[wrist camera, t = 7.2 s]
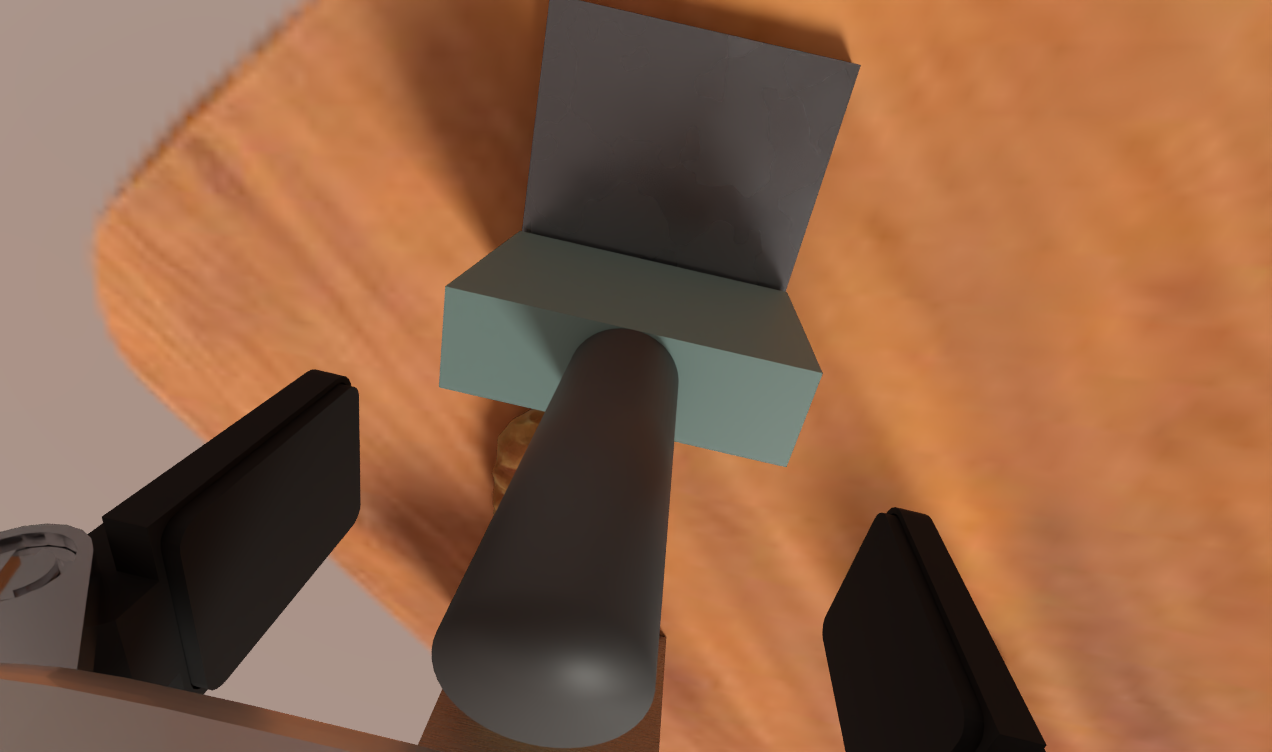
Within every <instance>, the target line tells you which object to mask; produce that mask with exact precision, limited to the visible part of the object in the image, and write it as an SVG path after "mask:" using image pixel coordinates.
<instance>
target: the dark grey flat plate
mask: <svg viewBox="0 0 1272 752" xmlns="http://www.w3.org/2000/svg"><path fill="white" fill-rule="evenodd" d="M860 66H861V65H858V64H854V63H850V62H845V61H841V60H837V59H832V58H828V57H824V56H819V55H815V54H810V53H806V52H802V51H797V50H793V49H789V48H784V47H780V46H776V45H771V44H767V43H763V42H758V41H754V40H750V39H745V38H741V37H737V36H732V35H728V34H724V33H719V32H715V31H710V30H706V29H702V28H697V27H693V26H689V25H684V24H680V23H676V22H671V21H667V20H663V19H658V18H654V17H650V16H645V15H641V14H637V13H632V12H628V11H624V10H619V9H615V8H611V7H606V6H602V5H597V4H593V3H589V2H584V1H580V0H549V9H548V17H547V25H546V34H545V42H544V51H543V59H542V67H541V76H540V84H539V93H538V101H537V109H536V118H535V126H534V135H533V143H532V151H531V160H530V168H529V177H528V185H527V193H526V202H525V210H524V219H523V227H522V231H523V232H527V233H532V234H536V235H540V236H545V237H549V238H553V239H558V240H562V241H566V242H571V243H575V244H579V245H584V246H588V247H592V248H597V249H601V250H606V251H610V252H614V253H619V254H623V255H627V256H632V257H636V258H640V259H645V260H649V261H653V262H658V263H662V264H666V265H671V266H675V267H679V268H684V269H688V270H692V271H697V272H701V273H705V274H710V275H714V276H718V277H723V278H727V279H732V280H736V281H740V282H745V283H749V284H753V285H758V286H762V287H766V288H771V289H775V290H779V291H784V292H785V291H786V288H787V285H788V282H789V279H790V276H791V273H792V270H793V267H794V264H795V261H796V258H797V255H798V252H799V249H800V246H801V243H802V240H803V237H804V234H805V231H806V228H807V225H808V222H809V219H810V216H811V213H812V210H813V207H814V204H815V201H816V198H817V195H818V192H819V189H820V186H821V183H822V180H823V177H824V174H825V171H826V168H827V165H828V162H829V159H830V156H831V153H832V150H833V147H834V144H835V141H836V138H837V135H838V132H839V129H840V126H841V123H842V120H843V117H844V114H845V111H846V108H847V105H848V102H849V99H850V96H851V93H852V90H853V87H854V84H855V81H856V78H857V75H858V72H859V69H860Z"/></svg>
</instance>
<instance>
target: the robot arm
mask: <svg viewBox="0 0 1272 752" xmlns="http://www.w3.org/2000/svg"><path fill="white" fill-rule="evenodd" d="M359 510H360V440H359V393H358V390H357V388H355V387H352V386H351V383H350V381H349V379H348V378H347V377H345V376H341V375H337V374H333V373H329V372H324V371H320V370H310V371H308V372H306V373H305V374H304V375H302V376H301V377H299V378H298V379H296V380H295V381H294V382H292V383H291V384H289V385H288V386H287V387H285V388H284V389H282V390H281V391H279V392H278V393H277V394H275V395H274V396H272V397H271V398H269V399H268V400H267V401H265V402H264V403H262V404H261V405H260V406H258V407H257V408H255V409H254V410H252V411H251V412H250V413H248V414H247V415H245V416H244V417H243V418H241V419H240V420H238V421H237V422H235V423H234V424H233V425H231V426H230V427H228V428H227V429H226V430H224V431H223V432H221V433H220V434H218V435H217V436H216V437H214V438H213V439H211V440H210V441H209V442H207V443H206V444H204V445H203V446H202V447H200V448H199V449H197V450H196V451H195V452H193V453H192V454H190V455H189V456H187V457H186V458H185V459H183V460H182V461H180V462H179V463H177V464H176V465H175V466H173V467H172V468H171V469H169V470H167V471H166V472H165V473H163V474H162V475H160V476H159V477H157V478H156V479H155V480H153V481H152V482H151V483H149V484H148V485H146V486H145V487H143V488H142V489H140V490H139V491H138V492H136V493H135V494H133V495H132V496H131V497H129V498H128V499H126V500H125V501H123V502H122V503H121V504H119V505H118V506H116V507H115V508H114V509H112V510H111V511H109V512H108V513H106V514H105V515H104V516H102V520H103V524H101V525H100V526H99V527H97V528H96V529H94V530H93V531H92V532H90V533H89V534H86V533H85V532H84V531H83V530H81V529H78V528H75V527H72V526H69V525H60V524H39V525H29V526H22V527H18V528H14V529H10V530H6V531H2V532H0V752H444V751H440V750H436V749H431V748H427V747H423V746H419V745H415V744H410V743H406V742H402V741H398V740H394V739H390V738H386V737H381V736H377V735H373V734H368V733H365V732H360V731H356V730H352V729H348V728H344V727H340V726H335V725H331V724H327V723H323V722H319V721H314V720H310V719H306V718H302V717H298V716H293V715H289V714H285V713H280V712H277V711H272V710H268V709H264V708H260V707H256V706H252V705H247V704H243V703H239V702H234V701H229V700H225V699H221V698H216V697H211V696H207V695H203V694H204V693H205V692H206V691H207V690H208V689H209V690H215V689H217V688H218V687H220V686H221V685H222V684H223V683H224V682H225V681H226V680H227V679H228V678H229V676H230V675H231V674H232V673H233V672H234V670H235V669H236V668H237V667H238V665H239V664H240V663H241V662H242V660H243V659H244V658H245V657H246V656H247V654H248V653H249V652H250V651H251V649H252V648H253V647H254V646H255V644H256V643H257V642H258V641H259V640H260V638H261V637H262V636H263V635H264V634H265V632H266V631H267V630H268V629H269V627H270V626H271V625H272V624H273V623H274V621H275V620H276V619H277V618H278V616H279V615H280V614H281V613H282V612H283V610H284V609H285V608H286V607H287V605H288V604H289V603H290V602H291V601H292V599H293V598H294V597H295V596H296V594H297V593H298V592H299V591H300V590H301V588H302V587H303V586H304V585H305V583H306V582H307V581H308V580H309V579H310V577H311V576H312V575H313V574H314V572H315V571H316V570H317V568H318V567H319V566H320V565H321V564H322V563H323V561H324V560H325V559H326V558H327V557H328V555H329V554H330V553H331V552H332V550H333V549H334V548H335V547H336V545H337V544H338V543H339V542H340V541H341V539H342V538H343V537H344V536H345V534H346V533H347V532H348V531H349V530H350V528H351V527H352V526H353V524H354V523H355V521H356V519H357V517H358V514H359ZM823 642H824V647H825V652H826V657H827V662H828V667H829V672H830V677H831V682H832V687H833V691H834V696H835V701H836V706H837V711H838V716H839V721H840V726H841V731H842V736H843V741H844V746H845V751H846V752H1046V751H1045V749H1044V748H1045V747H1046V743H1045V741H1044V739H1043V737H1042V735H1041V733H1040V731H1039V729H1038V727H1037V725H1036V724H1035V722H1034V720H1033V718H1032V716H1031V714H1030V712H1029V710H1028V708H1027V706H1026V704H1025V702H1024V700H1023V698H1022V696H1021V694H1020V692H1019V690H1018V688H1017V686H1016V684H1015V682H1014V680H1013V678H1012V676H1011V674H1010V672H1009V670H1008V669H1007V667H1006V665H1005V663H1004V661H1003V659H1002V657H1001V655H1000V653H999V651H998V649H997V647H996V645H995V643H994V641H993V639H992V637H991V635H990V633H989V631H988V629H987V627H986V625H985V623H984V621H983V619H982V617H981V615H980V613H979V612H978V610H977V608H976V606H975V604H974V602H973V600H972V598H971V596H970V594H969V592H968V590H967V588H966V586H965V584H964V582H963V580H962V578H961V576H960V574H959V572H958V570H957V568H956V566H955V564H954V562H953V560H952V558H951V556H950V555H949V553H948V551H947V549H946V547H945V545H944V543H943V541H942V539H941V537H940V535H939V533H938V531H937V529H936V527H935V525H934V523H933V521H932V519H931V518H930V517H929V516H928V515H926V514H922V513H918V512H913V511H909V510H905V509H901V508H897V507H894V508H891V509H890V510H889V511H888V512H887V513H879V514H878V515H877V516H876V518H875V519H874V521H873V523H872V525H871V527H870V529H869V531H868V533H867V535H866V537H865V539H864V541H863V543H862V545H861V547H860V549H859V551H858V553H857V555H856V557H855V559H854V561H853V563H852V565H851V567H850V569H849V571H848V573H847V575H846V577H845V579H844V581H843V583H842V585H841V587H840V589H839V591H838V593H837V595H836V597H835V599H834V601H833V603H832V605H831V607H830V609H829V611H828V612H827V614H826V617H825V619H824V623H823Z"/></svg>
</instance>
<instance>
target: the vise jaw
mask: <svg viewBox="0 0 1272 752" xmlns="http://www.w3.org/2000/svg"><path fill="white" fill-rule="evenodd" d="M822 374H823V373H822V370H821V368H820V366H819V364H818V361H817V359H816V357H815V355H814V352H813V350H812V348H811V345H810V343H809V341H808V339H807V336H806V334H805V332H804V330H803V327H802V325H801V323H800V321H799V318H798V316H797V314H796V311H795V309H794V307H793V305H792V302H791V300H790V298H789V296H788V293H787V292H784V291H779V290H775V289H771V288H766V287H762V286H758V285H753V284H749V283H745V282H740V281H736V280H732V279H727V278H723V277H718V276H714V275H710V274H705V273H701V272H697V271H692V270H688V269H684V268H679V267H675V266H671V265H666V264H662V263H658V262H653V261H649V260H645V259H640V258H636V257H632V256H627V255H623V254H619V253H614V252H610V251H606V250H601V249H597V248H592V247H588V246H584V245H579V244H575V243H571V242H566V241H562V240H558V239H553V238H549V237H545V236H540V235H536V234H532V233H527V232H523V231H519V232H518V233H516V234H515V235H514V236H512V237H511V238H510V239H508V240H507V241H506V242H504V243H503V244H502V245H500V246H499V247H498V248H496V249H495V250H494V251H492V252H491V253H490V254H488V255H487V256H486V257H484V258H483V259H482V260H480V261H479V262H477V263H476V264H475V265H473V266H472V267H471V268H469V269H468V270H467V271H465V272H464V273H463V274H461V275H460V276H459V277H457V278H456V279H455V280H453V281H452V282H451V283H449V284H448V285H447V286H445V301H444V316H443V332H442V348H441V363H440V379H439V387H440V388H445V389H449V390H453V391H458V392H462V393H466V394H471V395H475V396H479V397H484V398H488V399H492V400H497V401H501V402H505V403H510V404H514V405H518V406H523V407H527V408H531V409H536V410H540V411H544V412H545V413H544V415H543V417H542V419H541V421H540V423H539V425H538V427H537V429H536V431H535V433H534V435H533V437H532V439H531V441H530V443H529V445H528V447H527V449H526V451H525V453H524V455H523V457H522V459H521V461H520V464H519V466H518V468H517V470H516V472H515V474H514V476H513V478H512V480H511V482H510V484H509V486H508V488H507V490H506V492H505V494H504V496H503V498H502V500H501V502H500V504H499V506H498V508H497V510H496V512H495V514H494V516H493V518H492V520H491V522H490V524H489V526H488V528H487V530H486V532H485V534H484V537H483V539H482V541H481V543H480V545H479V547H478V549H477V551H476V553H475V555H474V557H473V559H472V561H471V563H470V565H469V567H468V569H467V571H466V573H465V575H464V577H463V579H462V581H461V583H460V585H459V587H458V589H457V591H456V593H455V595H454V597H453V599H452V601H451V603H450V605H449V607H448V610H447V612H446V614H445V616H444V618H443V620H442V622H441V624H440V626H439V628H438V630H437V632H436V635H435V637H434V640H433V645H432V663H433V668H434V672H435V674H436V677H437V680H438V681H439V683H440V685H441V687H442V689H443V690H444V692H445V693H446V694H447V696H448V697H449V698H450V700H451V701H452V702H453V703H454V704H455V705H456V706H457V707H458V708H459V709H460V710H461V711H463V712H464V713H465V714H466V715H467V716H468V717H470V718H471V719H473V720H474V721H476V722H477V723H479V724H480V725H482V726H484V727H486V728H487V729H489V730H491V731H493V732H495V733H498V734H500V735H502V736H505V737H507V738H510V739H513V740H516V741H519V742H523V743H527V744H531V745H537V746H542V747H551V748H579V747H587V746H593V745H597V744H601V743H604V742H607V741H610V740H613V739H615V738H617V737H619V736H621V735H623V734H625V733H627V732H628V731H629V730H631V729H632V728H633V727H635V726H636V725H637V724H638V723H639V722H640V721H641V720H642V719H643V718H644V716H645V715H646V713H647V712H648V710H649V708H650V706H651V704H652V702H653V698H654V694H655V686H656V673H657V660H658V647H659V634H660V620H661V607H662V594H663V581H664V568H665V555H666V542H667V529H668V516H669V503H670V490H671V477H672V464H673V451H674V441H675V442H679V443H683V444H688V445H692V446H696V447H701V448H705V449H709V450H714V451H718V452H722V453H727V454H731V455H736V456H740V457H744V458H749V459H753V460H757V461H762V462H766V463H770V464H775V465H779V466H783V467H787V464H788V462H789V459H790V457H791V454H792V451H793V449H794V446H795V444H796V441H797V438H798V436H799V433H800V431H801V428H802V426H803V423H804V420H805V418H806V415H807V413H808V410H809V407H810V405H811V402H812V400H813V397H814V395H815V392H816V389H817V387H818V384H819V382H820V379H821V376H822Z"/></svg>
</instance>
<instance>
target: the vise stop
mask: <svg viewBox="0 0 1272 752" xmlns="http://www.w3.org/2000/svg"><path fill="white" fill-rule="evenodd" d="M665 648H666V637H664V636H660V635H659V647H658V660H657V673H656V686H655V694H654V698H653V702H652V704H651V706H650V708H649V710H648V712H647V713H646V715H645V716H644V718H643V719H642V720H641V721H640V722H639V723H638V724H637V725H636V726H635V727H633V728H632V729H631V730H629V731H628V732H627V733H625V734H623V735H621V736H619V737H617V738H615V739H613V740H610V741H607V742H604V743H601V744H597V745H593V746H587V747H579V748H551V747H542V746H537V745H531V744H527V743H523V742H519V741H516V740H513V739H510V738H507V737H505V736H502V735H500V734H498V733H495V732H493V731H491V730H489V729H487V728H486V727H484V726H482V725H480V724H479V723H477V722H476V721H474V720H473V719H471V718H470V717H468V716H467V715H466V714H465V713H464V712H463V711H461V710H460V709H459V708H458V707H457V706H456V705H455V704H454V703H453V702H452V701H451V700H450V698H449V697H448V696H447V694H446V693H445V692H444V690H443V689H442V691H441V693H440V696H439V698H438V700H437V703H436V705H435V707H434V710H433V712H432V714H431V716H430V719H429V721H428V723H427V726H426V728H425V730H424V732H423V735H422V737H421V740H420V742H419V744H418V745H419V746H423V747H427V748H431V749H436V750H440V751H444V752H659V742H660V726H661V710H662V695H663V679H664V663H665Z"/></svg>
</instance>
